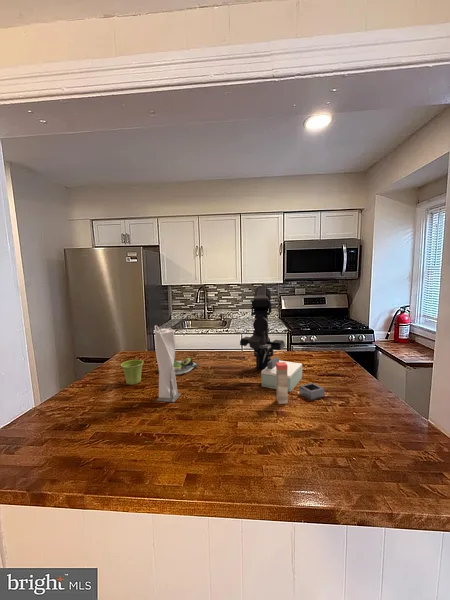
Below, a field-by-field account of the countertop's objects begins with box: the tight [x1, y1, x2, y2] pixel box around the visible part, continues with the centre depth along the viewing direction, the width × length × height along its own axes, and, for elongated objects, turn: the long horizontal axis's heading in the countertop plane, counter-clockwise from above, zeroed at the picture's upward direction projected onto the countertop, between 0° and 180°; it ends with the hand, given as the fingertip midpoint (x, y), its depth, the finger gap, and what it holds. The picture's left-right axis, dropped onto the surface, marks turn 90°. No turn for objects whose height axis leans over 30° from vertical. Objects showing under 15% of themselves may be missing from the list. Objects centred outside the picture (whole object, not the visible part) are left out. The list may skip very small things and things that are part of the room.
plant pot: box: [120, 359, 144, 386], centre depth 125 cm, size 9×9×9 cm
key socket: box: [298, 382, 326, 401], centre depth 107 cm, size 6×6×3 cm
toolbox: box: [260, 366, 303, 393], centre depth 120 cm, size 12×16×5 cm
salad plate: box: [157, 357, 200, 376], centre depth 139 cm, size 19×18×5 cm
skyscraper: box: [153, 324, 182, 403], centre depth 109 cm, size 8×8×28 cm
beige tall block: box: [275, 362, 289, 405], centre depth 102 cm, size 3×3×14 cm
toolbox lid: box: [260, 357, 303, 379], centre depth 119 cm, size 12×16×4 cm
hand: (262, 362), depth 124 cm, fingers closed
